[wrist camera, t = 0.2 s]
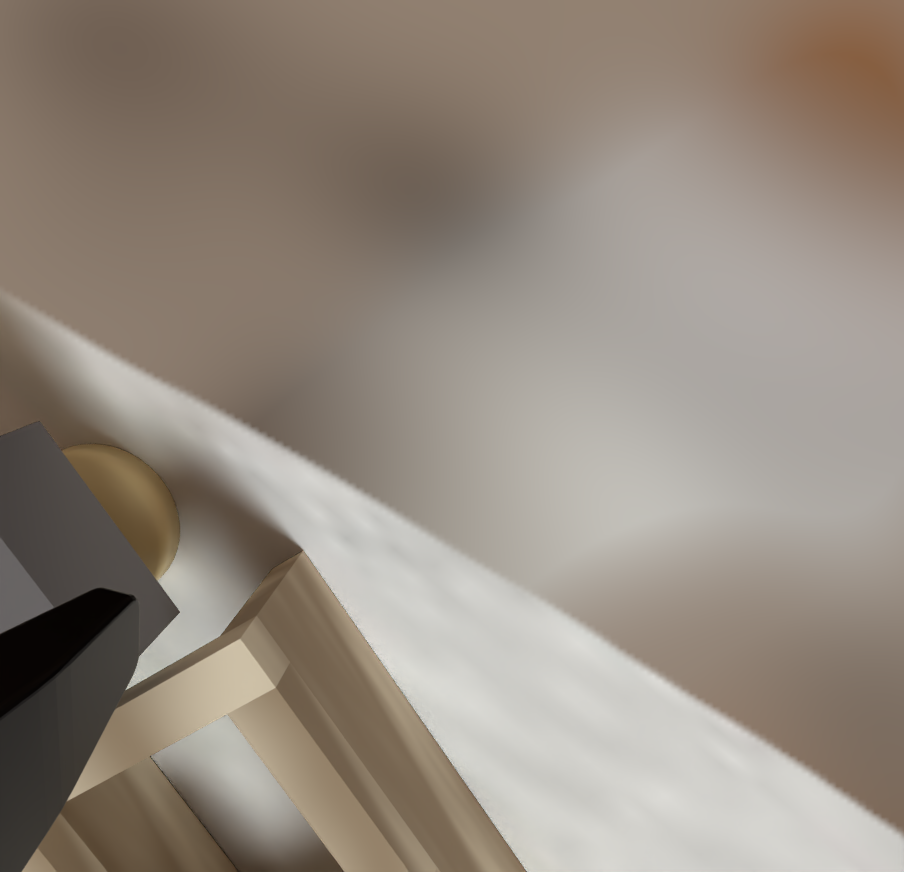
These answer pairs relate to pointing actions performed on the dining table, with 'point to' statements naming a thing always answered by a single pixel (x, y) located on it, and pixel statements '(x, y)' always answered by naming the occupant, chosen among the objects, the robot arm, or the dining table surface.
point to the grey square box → (82, 528)
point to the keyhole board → (278, 751)
